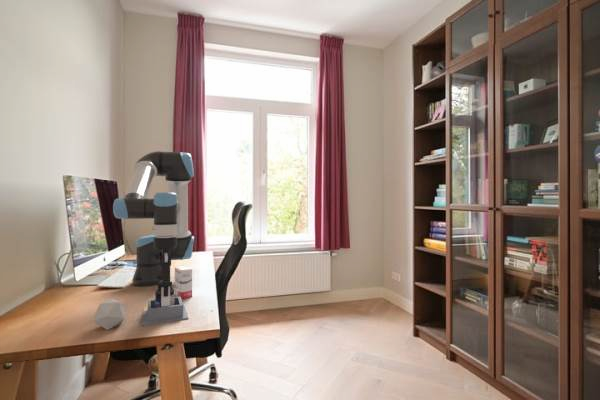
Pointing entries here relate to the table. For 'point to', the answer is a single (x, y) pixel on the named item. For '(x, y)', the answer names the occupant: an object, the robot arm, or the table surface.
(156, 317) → the well
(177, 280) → the ink box
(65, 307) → the table surface
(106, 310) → the die
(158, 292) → the pill bottle
